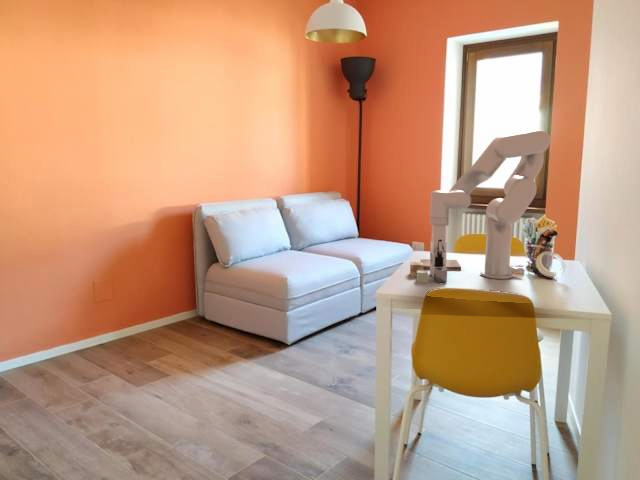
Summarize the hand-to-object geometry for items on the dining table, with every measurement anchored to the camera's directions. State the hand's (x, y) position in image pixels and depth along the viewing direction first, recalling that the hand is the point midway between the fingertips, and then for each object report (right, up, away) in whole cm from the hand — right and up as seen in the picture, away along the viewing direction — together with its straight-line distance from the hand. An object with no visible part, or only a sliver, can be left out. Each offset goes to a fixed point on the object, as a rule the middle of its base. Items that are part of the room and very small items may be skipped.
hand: (437, 264), depth 213 cm
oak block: (-9, -5, +2) cm, 10 cm away
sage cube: (-8, -6, -8) cm, 13 cm away
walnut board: (+5, -2, +17) cm, 18 cm away
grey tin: (-1, -6, -9) cm, 11 cm away
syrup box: (0, -5, +1) cm, 5 cm away
